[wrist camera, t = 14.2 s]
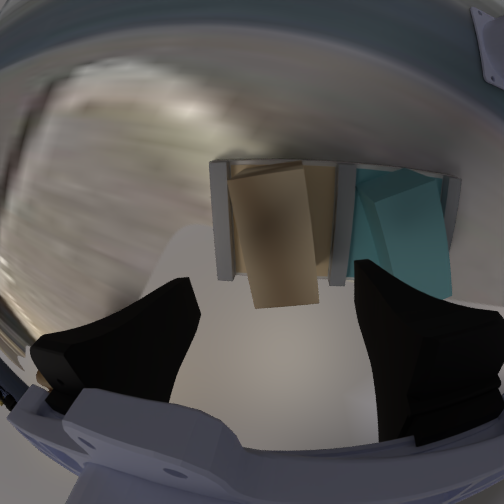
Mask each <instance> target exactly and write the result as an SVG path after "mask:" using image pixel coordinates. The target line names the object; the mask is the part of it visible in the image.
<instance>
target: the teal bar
mask: <svg viewBox="0 0 504 504" xmlns="http://www.w3.org/2000/svg"><path fill="white" fill-rule="evenodd" d="M356 188H357V191H358V194H359V197H360V200H361V202H362V205H363V208H364V212H365V215H366V218H367V221H368V224H369V227H370V231H371V234H372V237H373V241H374V244H375V248H376V252H377V255H378V259H379V263H380V267H381V268H383V269H384V270H386V271H387V272H388V273H390V274H391V275H393V276H394V277H396V278H398V279H399V280H401V281H403V282H404V283H406V284H408V285H410V286H411V287H413V288H415V289H417V290H419V291H421V292H424V293H426V294H428V295H430V296H433V297H435V298H438V299H441V300H443V299H445V298H447V297H450V296H452V285H451V271H450V260H449V251H448V243H447V235H446V229H445V223H444V217H443V211H442V206H441V201H440V196H439V192H438V187H437V183H436V180H435V179H432V178H430V177H428V176H425V175H423V174H420V173H418V172H415V171H412V170H410V169H407V168H402V169H399V170H396V171H393V172H391V173H388V174H385V175H382V176H379V177H377V178H374V179H371V180H368V181H366V182H363V183H360V184H358V185H356Z"/></svg>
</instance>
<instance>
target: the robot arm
mask: <svg viewBox="0 0 504 504" xmlns="http://www.w3.org/2000/svg"><path fill="white" fill-rule="evenodd" d="M470 11H471V15H472V19H473V23H474V27H475V31H476V35H477V40H478V45H479V50H480V56H481V63H482V70H483V77H484V79H485V81H486V82H487V83H490V84H492V85H494V86H496V87H498V88H500V89H502V90H504V15H503V16H501V17H498V18H494V17H492V16H490V15H489V14H487V13H485V12H483V11H481V10H479V9H477V8H475V7H471V8H470ZM479 14H480V15H479ZM491 77H492V79H493V81H492V79H491ZM354 288H355V289H354V295H355V296H354V302H355V308H356V314H357V318H358V323H359V326H360V329H361V332H362V336H363V339H364V342H365V345H366V349H367V352H368V356H369V359H370V362H371V367H372V372H373V379H374V386H375V394H376V403H377V416H378V432H379V443H373V444H367V445H360V446H352V447H344V448H334V449H321V450H300V451H268V450H267V451H266V450H256V449H251V448H245V447H242V446H241V444H240V442H239V440H238V438H237V436H236V435H235V434H234V433H233V432H232V430H230V429H229V428H228V427H227V426H226V425H225V424H224V423H223V422H222V421H221V420H219V419H217V418H215V417H213V416H211V415H209V414H207V413H205V412H203V411H201V410H198V409H194V408H190V407H186V406H182V405H178V404H172V403H169V400H170V395H171V392H172V389H173V386H174V382H175V379H176V376H177V373H178V371H179V368H180V366H181V364H182V362H183V360H184V357H185V355H186V353H187V351H188V349H189V347H190V344H191V342H192V340H193V338H194V336H195V333H196V331H197V327H198V324H199V320H200V316H201V312H200V309H199V306H198V303H197V300H196V297H195V294H194V291H193V288H192V285H191V282H190V279H189V277H184V278H176V279H174V280H172V281H170V282H168V283H166V284H164V285H163V286H161V287H159V288H158V289H156V290H154V291H153V292H151V293H150V294H148V295H146V296H145V297H143V298H141V299H140V300H138V301H136V302H135V303H133V304H131V305H129V306H128V307H126V308H124V309H122V310H120V311H118V312H116V313H114V314H112V315H110V316H108V317H105V318H103V319H100V320H98V321H95V322H92V323H90V324H87V325H84V326H81V327H77V328H74V329H70V330H66V331H61V332H56V333H50V334H44V335H42V336H41V337H40V338H39V339H38V340H37V341H36V342H35V343H34V344H33V345H32V346H31V347H30V355H31V358H32V360H33V362H34V364H35V365H36V367H37V369H38V370H39V371H40V373H41V374H42V375H43V377H44V378H45V379H46V381H47V382H48V383H49V385H50V386H51V387H52V388H53V390H52V391H51V392H50V393H49V392H47V391H46V390H45V389H43V388H41V387H38V386H36V385H34V384H32V385H31V386H30V388H29V389H28V390H27V391H26V393H25V394H24V395H23V397H22V398H21V399H20V400H19V402H18V403H17V404H16V406H15V407H14V408H13V410H12V411H11V412H10V414H9V415H8V416H7V420H8V421H9V422H10V423H11V424H12V425H13V426H14V427H15V428H16V429H17V430H18V431H19V432H20V433H21V434H22V435H23V436H24V437H25V438H26V439H27V440H28V441H29V442H31V443H32V444H33V445H34V446H35V447H36V448H37V449H38V450H40V451H41V452H42V453H44V454H45V455H46V456H48V457H49V458H51V459H52V460H54V461H55V462H57V463H58V464H60V465H61V466H63V467H64V468H66V469H67V470H69V471H71V472H72V473H74V474H76V475H77V476H79V478H78V480H77V482H76V484H75V485H74V488H73V489H72V491H71V493H70V495H69V497H68V499H67V501H66V503H65V504H455V503H457V502H459V501H462V500H464V499H466V498H468V497H470V496H472V495H474V494H476V493H478V492H480V491H482V490H484V489H486V488H488V487H490V486H492V485H493V484H495V483H497V482H499V481H500V480H502V479H504V394H503V395H502V396H501V394H500V391H499V389H498V388H499V387H500V386H501V380H500V378H499V376H498V373H499V371H500V369H501V367H502V365H503V363H504V319H503V317H502V316H501V315H500V314H499V312H498V311H491V310H483V309H475V308H470V307H466V306H461V305H457V304H454V303H450V302H447V301H444V300H441V299H438V298H435V297H433V296H430V295H428V294H426V293H424V292H421V291H419V290H417V289H415V288H413V287H411V286H410V285H408V284H406V283H404V282H403V281H401V280H399V279H398V278H396V277H394V276H393V275H391V274H390V273H388V272H387V271H386V270H384V269H383V268H381V267H380V266H378V265H377V264H375V263H374V262H373V261H371V260H369V259H361V260H354Z"/></svg>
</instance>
